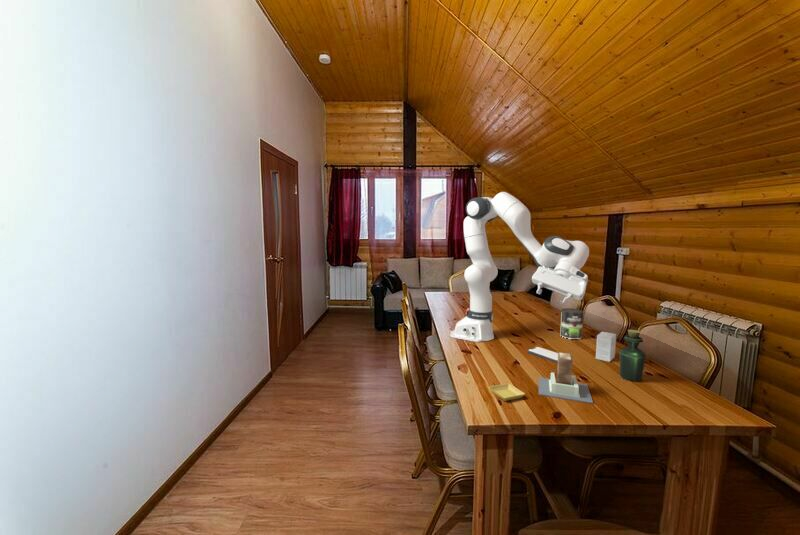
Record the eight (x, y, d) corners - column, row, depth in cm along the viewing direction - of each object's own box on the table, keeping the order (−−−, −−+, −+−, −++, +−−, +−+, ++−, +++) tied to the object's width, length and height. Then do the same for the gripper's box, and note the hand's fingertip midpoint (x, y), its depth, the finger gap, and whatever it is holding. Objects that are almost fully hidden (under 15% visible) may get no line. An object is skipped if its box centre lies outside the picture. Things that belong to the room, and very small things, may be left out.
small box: (600, 354, 151) (601, 331, 150) (615, 357, 147) (616, 333, 146) (595, 358, 145) (596, 335, 144) (609, 362, 141) (611, 337, 140)
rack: (549, 392, 113) (550, 383, 113) (548, 380, 122) (549, 372, 122) (579, 397, 110) (580, 388, 109) (576, 384, 119) (577, 376, 119)
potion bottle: (638, 384, 120) (641, 335, 118) (613, 376, 127) (616, 330, 125) (648, 379, 124) (651, 332, 122) (623, 371, 131) (627, 326, 129)
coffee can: (585, 340, 170) (586, 313, 168) (563, 339, 171) (564, 312, 170) (577, 334, 180) (579, 308, 178) (557, 333, 182) (558, 307, 180)
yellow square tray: (508, 388, 118) (508, 382, 118) (525, 399, 110) (525, 393, 110) (487, 392, 115) (487, 386, 115) (503, 404, 107) (504, 398, 107)
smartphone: (570, 360, 144) (537, 349, 158) (571, 357, 144) (537, 346, 157) (559, 365, 140) (525, 353, 153) (559, 361, 139) (525, 349, 152)
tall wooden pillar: (557, 390, 114) (559, 357, 113) (556, 382, 119) (558, 352, 118) (570, 392, 112) (572, 359, 111) (569, 384, 118) (570, 353, 117)
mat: (538, 394, 112) (538, 393, 112) (538, 378, 125) (538, 377, 125) (593, 403, 107) (593, 402, 106) (586, 385, 119) (587, 384, 119)
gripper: (540, 259, 142) (524, 283, 137) (592, 277, 130) (576, 303, 125) (540, 269, 146) (524, 292, 142) (590, 286, 134) (575, 312, 129)
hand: (549, 297), depth 133 cm, fingers open, 8 cm apart
